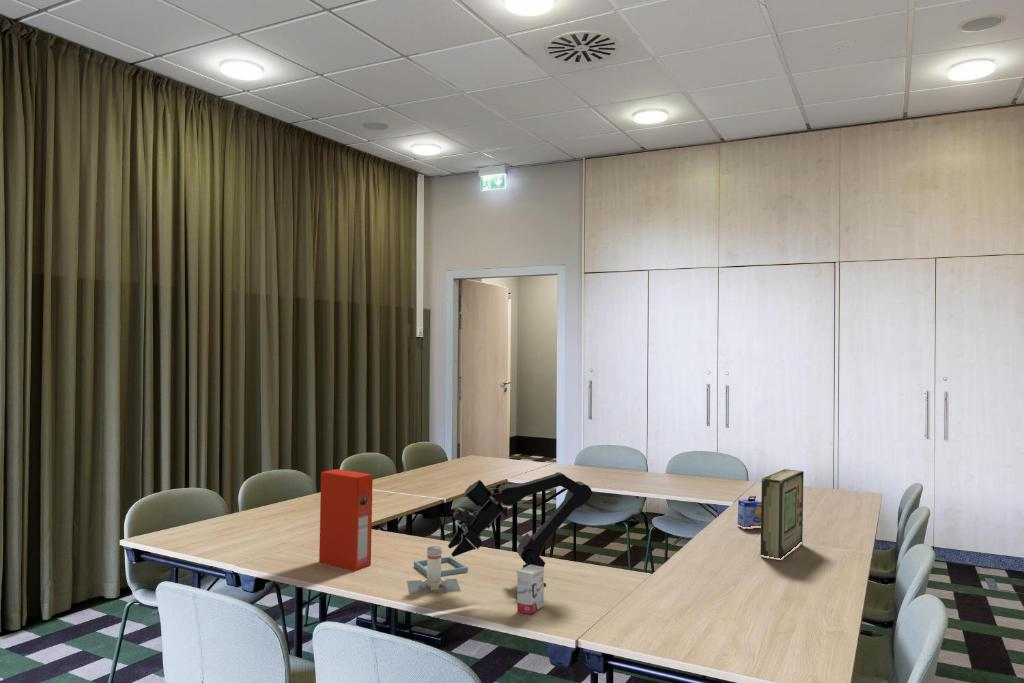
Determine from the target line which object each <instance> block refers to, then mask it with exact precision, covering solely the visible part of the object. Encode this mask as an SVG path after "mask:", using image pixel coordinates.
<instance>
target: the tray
mask: <svg viewBox="0 0 1024 683" xmlns="http://www.w3.org/2000/svg"><path fill="white" fill-rule="evenodd" d="M449 563H451V564H452V565H454V566H455V567H456V568H449V569H441V577H444V576H450V575H456V574H462V573H468V572H469V567H468V566H466V565H465V564H463V563H462V562H460V561H459V560H457V559H456V558H454V557H453V556H452V555H451V556H441V565H442V564H449ZM413 568H416V569H417V570H419V571H420V572H421V573H423V574H424V575H425V576H427V559H422V560H421V559H420V560H414V561H413Z"/></svg>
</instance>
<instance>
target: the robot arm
mask: <svg viewBox="0 0 1024 683" xmlns="http://www.w3.org/2000/svg"><path fill="white" fill-rule="evenodd" d="M558 487H562V488H563V489H565V490H567V491H566V493H565V496H564V499H563V501H562V502H561V503H560V504H559V505H558V506H557V508H556V509H555V510H554V511H553V512H552V513H551V515H549V517H548V518H547V519H546V520H545V522H544V523H543V524H542V525H541V526H540V527H539V529H538V530H537V531H536V532H534V533H533V534H531V535H530V534H529V533H526V534H525V535H524V536H523V538H522V539H521V540H520V541H518V543H519V544H518V545H517V554H518V556H519V557H520V559H521V560H522V561H523V563H525V564H522V568H524V567H526V566H528V565H536V566H541V567H544V568H545V565H546V562H545V561H544V559H543V558H542V556H541V554H542V553H543V550H544V548H545V545H546V543H547V541H549V539H550V538H551V537H552V536H553V535H554V534H555V533H556V531H557V530H558V529H559V528H560V527H561V526H562V524H563V523H564V522H565V521H566V520H567V519H568V518H569V517H570V515H571V514H572V513H573V512H574V511H575V510H577V509H579V508H581V507H583V506H584V505H585V504H586V503H587V502H589V501H590V500H591V498H593V497H592V496H593V490H592V488H591V487H590V486H589V485H588V484H586V483H584V482H582V481H580V480H579V481H575V480H573V479H572V478H569V477H568V476H567V475H565V474H564V473H562V472H560V471H558V472H557V471H556V472H555V473H553V474H549V475H546V476H543V477H540V478H536V479H531V480H530V481H526V482H522V483H507V484H505V483H504V484H502V485H500V486H499V487H497V488H491V489H489V488H488V487H487V486H486V485H485V484H484V482H483V481H482V480H481V479H478V480H477V481H475V482H473V483H472V484H469V486H467V488H466V489H465V490H464V493H463V494H464V496H465V497H466V498H467V499H468V500H469V501H470V502H471V503H472V504H473V505H474V506H475V507H481V508H479V510H474V511H473V512H470V510H467V509H463V508H462V507H459V506H457V507H456V508H455V510H454V512H453V514H452V517H453V518H454V519H455V520H457V521H456V532H455V533H454V535H453V536H452V539H451V540H450V542H449V543H448V545H447V547H448V548H449V549H452V548H454V549H453V551H452V552H451V553H450V554H451V557H453V558H454V557H457V556H460V555H462V554H465V553H467V552H470V551H473V550H474V551H475V550H476V549H477V550H478V549H480V547H482V545H483V540H482V538H481V537H482V533H483V532H484V531H485V530H486V529H489V528H491V524H492V523H493V522H494V521H495V520H496V519H498V517H499V516H500V515H501V514H503V515H504V516H505V518H507V517H508V510H509V509H508V507H507V506H512V505H514V504H516V503H518V502H520V501H521V500H523V499H524V498H527V497H528V496H532V495H535V494H537V493H541V492H545V491H548V490H551V489H555V488H558ZM491 497H492V498H491ZM500 502H501V503H502V504H501V503H500ZM489 530H490V529H489ZM545 586H547V583H546V582H544V587H545Z"/></svg>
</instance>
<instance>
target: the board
mask: <svg viewBox="0 0 1024 683" xmlns="http://www.w3.org/2000/svg"><path fill="white" fill-rule="evenodd" d="M426 581H427V579H424V578H423V579H418V580H417V579H416V580H406V582H407V587H408V594H410V595H413V594H433V593H434V594H435V593H437V594H438V593H453V592H462V590H461V587H460V585H459V582H458V580H457V578H441V587H439V583H431V588H428V587H426Z"/></svg>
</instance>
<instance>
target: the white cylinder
mask: <svg viewBox="0 0 1024 683" xmlns="http://www.w3.org/2000/svg"><path fill="white" fill-rule="evenodd" d="M426 549H427V550H426V557H427V558H426V560H427V566H426V569H427V575H426V580H427V581H426V587H428V588H431V583H439V587H441V579H442V578H441V577H442V576H441V570H442V564H441V558H442V554H443V552H442V551H443V548H442V547H441V546H439V545H431V546H428V547H427V548H426Z"/></svg>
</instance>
